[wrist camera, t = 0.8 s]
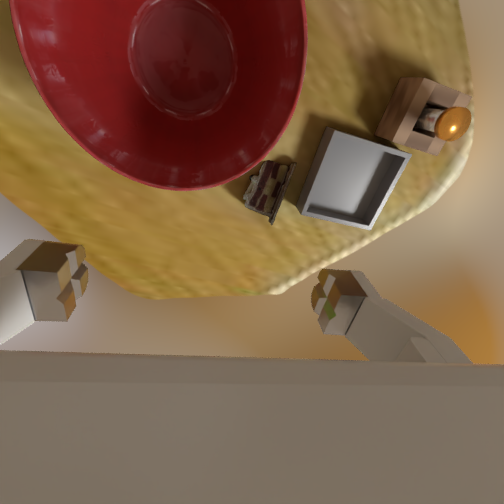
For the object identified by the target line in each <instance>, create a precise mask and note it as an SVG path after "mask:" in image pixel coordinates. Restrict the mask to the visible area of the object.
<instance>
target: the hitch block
mask: <svg viewBox="0 0 504 504" xmlns="http://www.w3.org/2000/svg"><path fill="white" fill-rule="evenodd" d="M471 98H472V96H469V95H467V94H464V93H462V92H459V91H457V90H454V89H452V88H449V87H447V86H444V85H442V84H439V83H437V82H434V81H432V80H429V79H426V78H418V77H401V78H400V80H399V82H398V84H397V87H396V89H395V91H394V93H393V95H392V97H391V99H390V102H389V104H388V106H387V108H386V110H385V112H384V114H383V117H382V119H381V121H380V123H379V125H378V127H377V129H376V132H375V134H374V135H376V136H379V137H381V138H384V139H387V140H389V141H392V142H395V143H398V144H401V145H404V146H407V147H411V148H414V149H417V150H420V151H423V152H426V153H429V154H432V155H436V156H437V155H438V154H439V152H440V150H441V149H442V147H443V145H444V144H445V142H446V141H445V140H441V139H439V138H437V137H436V135H435V133H434V132H432V131H428V130H425V129H421V128H417V127H414V125H415V123H416V122H417V120H418V118H419V116H420V114H421V112H422V110H423V108H424V107H426V108H432V109H439V110H446V109H447V108H450V107H453V106H458V107H465V108H466V107H467V105H468V103H469V102H470V100H471Z"/></svg>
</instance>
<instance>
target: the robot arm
mask: <svg viewBox="0 0 504 504" xmlns="http://www.w3.org/2000/svg"><path fill="white" fill-rule="evenodd" d="M85 258H86V254H85V248H84V247H83V246H82V245H78V244H69V243H61V242H52V241H44V240H33V239H28V240H24V241H23V242H22V243H21V244H20V245H18V246H17V247H16V248H15V249H14V250H13V251H11V252H10V253H9V254H8V255H7V256H6V257H5V258H3V259H2V260H1V261H0V345H1V344H3V343H4V342H6V341H7V340H9V339H10V338H12V337H13V336H15V335H16V334H18V333H19V332H21V331H22V330H24V329H25V328H27V327H28V326H30V325H31V324H33V323H34V322H35V321H66V322H67V321H68V319H69V317H70V316H71V314H72V312H73V311H74V309H75V307H76V301H75V300H76V299H78V298H80V297H82V295H83V294H84V292H85V290H86V287H87V283H88V268H87V267H86V266H85V265H84V264H83V263H82V262H83V260H84V259H85ZM318 280H319V282H320V283H318V284H317V285H316V286H314V288H313V291H312V295H311V303H312V308H313V310H314V312H316V313H317V314H318V315H319V318H318V322H319V324H320V327H321V329H322V331H323V334H332V335H345V337H346V338H347V339H348V340H349V341H350V342H351V343H352V344H353V345H354V346H355V347H356V348H357V349H359V351H361V352H362V353H363V354H364V355H365V356H366V357H367V358H368V359H369V360H370V361H356V360H355V361H354V360H322V359H321V360H320V359H289V358H255V357H219V356H217V357H215V356H183V355H146V354H111V353H77V352H44V351H43V352H42V351H41V352H40V351H9V350H0V504H504V365H498V364H473V363H472V362H471V361H470V360H469V358H468V357H467V356H466V355H465V354H464V353H463V352H462V351H461V349H460V348H459V347H458V346H457V345H456V344H455V343H454V342H453V341H452V339H450V338H449V337H448V336H446V335H445V334H443V333H441V332H440V331H438V330H436V329H435V328H433V327H431V326H430V325H428V324H427V323H425V322H423V321H422V320H420V319H418V318H416V317H415V316H413V315H412V314H410V313H409V312H407V311H405V310H404V309H402V308H400V307H399V306H397V305H395V304H394V303H392V302H390V301H389V300H387V299H382V297H381V296H380V295H379V294H378V292H377V291H376V289H375V288H374V287H373V285H372V284H371V283H370V281H369V280H368V279H367V278H366V276H365V275H364V273H362V272H360V271H351V270H333V269H322V270H321V271H320V273H319V275H318Z"/></svg>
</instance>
